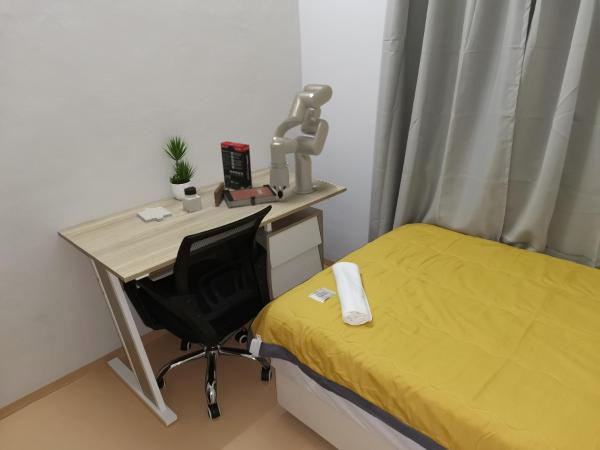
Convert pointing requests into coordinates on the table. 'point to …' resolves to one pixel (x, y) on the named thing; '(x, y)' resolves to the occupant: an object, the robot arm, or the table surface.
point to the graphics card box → (236, 165)
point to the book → (249, 196)
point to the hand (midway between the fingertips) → (280, 197)
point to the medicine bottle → (191, 200)
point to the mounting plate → (154, 214)
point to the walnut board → (219, 194)
